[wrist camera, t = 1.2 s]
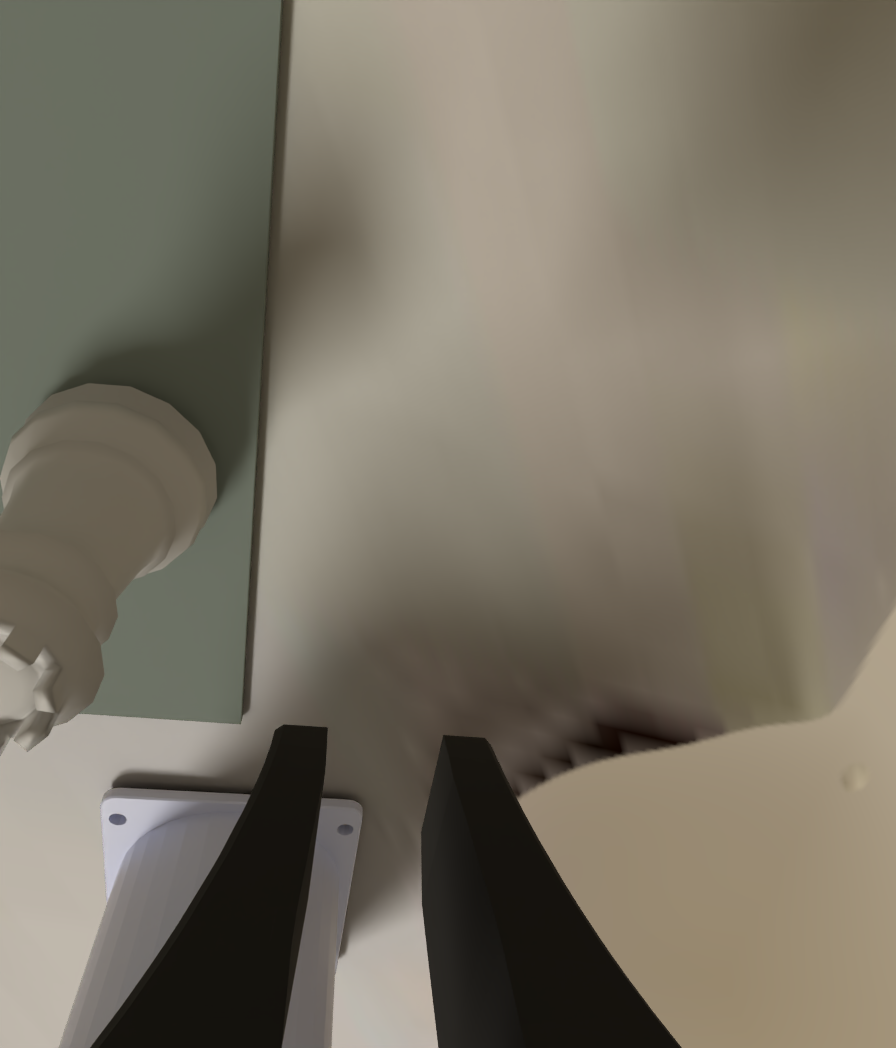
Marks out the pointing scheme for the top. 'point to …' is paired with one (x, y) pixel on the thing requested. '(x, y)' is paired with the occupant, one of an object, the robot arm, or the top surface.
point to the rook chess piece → (86, 539)
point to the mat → (147, 283)
